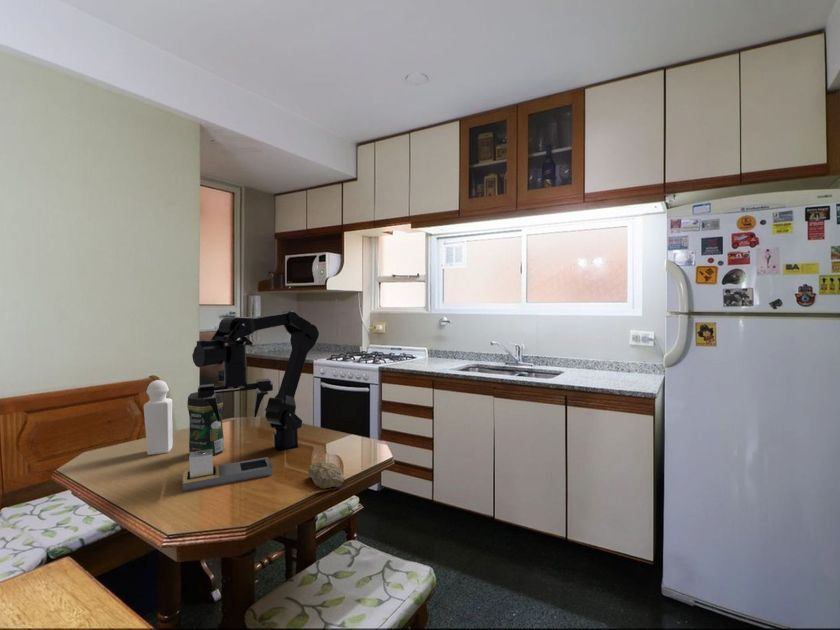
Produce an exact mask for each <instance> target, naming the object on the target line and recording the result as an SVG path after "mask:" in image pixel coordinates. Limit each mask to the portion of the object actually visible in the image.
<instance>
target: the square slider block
mask: <svg viewBox="0 0 840 630" xmlns="http://www.w3.org/2000/svg"><path fill="white" fill-rule="evenodd" d="M213 458H214V455H213V454H212V449H208V450H202V451H195V452H190V453H189V457H188V459H189V460H188V461H189V462H188V463H189V470H190V479H195V478H201V477H206V476H212V475H213V465H214V459H213Z"/></svg>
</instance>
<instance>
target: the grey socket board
mask: <svg viewBox="0 0 840 630" xmlns="http://www.w3.org/2000/svg"><path fill="white" fill-rule="evenodd" d="M182 476H183V477H182V482H181V483H182V484H181V485H182V492H189V491H194V490H201V489H206V488H210V487H215V486H221V485H226V484H232V483H238V482H243V481H248V480H253V479H260V478H264V477H268V476H273V466H272V464H271V461H270V459H269V457H268V456H267V457H260V458H253V459H247V460H242V461H237V462H236V461H235V462H231V463H224V464H213V475H212V476H206V477H201V478H195V479H190V469H185V470H184V471H183V475H182Z"/></svg>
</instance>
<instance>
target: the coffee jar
mask: <svg viewBox="0 0 840 630" xmlns="http://www.w3.org/2000/svg"><path fill="white" fill-rule="evenodd" d="M215 395H216V400H217V405H218V411H219V417H220V422H218V420H217V418H216V416H215V413H214V411H213V409H212V407H211V405H210V404H209V402H208V401H204V398H198V391H196V392H192V393H189V395H188V397H187V411H188V416H189V437H188V438H189V439H188V440H189V441H188V452H189V454H190V452H195V451H202V450H208V449H212V454H213V456H216V455H219V454H221V453H222V452H223V451H225V438H224V428H223V420H222V419H223V416H222V412H223V404H224V403H223V402H224V401H223V396H222V393H215Z"/></svg>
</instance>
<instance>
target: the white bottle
mask: <svg viewBox="0 0 840 630" xmlns="http://www.w3.org/2000/svg"><path fill="white" fill-rule="evenodd" d="M169 391H170V388H169V387H168V384H167V383H166V382H165V381H164V380H162V379H161V380H160V379H156V380H153V381H151V382H150V383H149V385H148V386H147V388H146V391H145V393H146V394H147V395H148V397H149V400H148V401H147V402H146V403H144V404H143V414H144V415H143V416H144V427H145V440H146V450H147V455H148V456H150V455H151V456H153V455H159V454H161V455H162V454H167V453H169V452H170V451H171V450H172V448H173V399H172V398H167V395H168V392H169Z"/></svg>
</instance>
